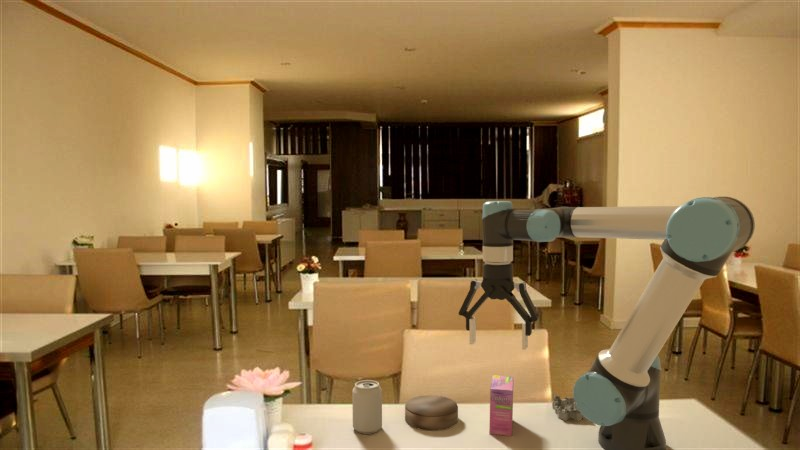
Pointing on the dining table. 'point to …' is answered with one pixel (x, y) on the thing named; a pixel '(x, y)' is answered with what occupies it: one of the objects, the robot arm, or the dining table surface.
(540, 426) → the dining table surface
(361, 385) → the can
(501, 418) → the box
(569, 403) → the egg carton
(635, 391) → the robot arm
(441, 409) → the round lidded container
